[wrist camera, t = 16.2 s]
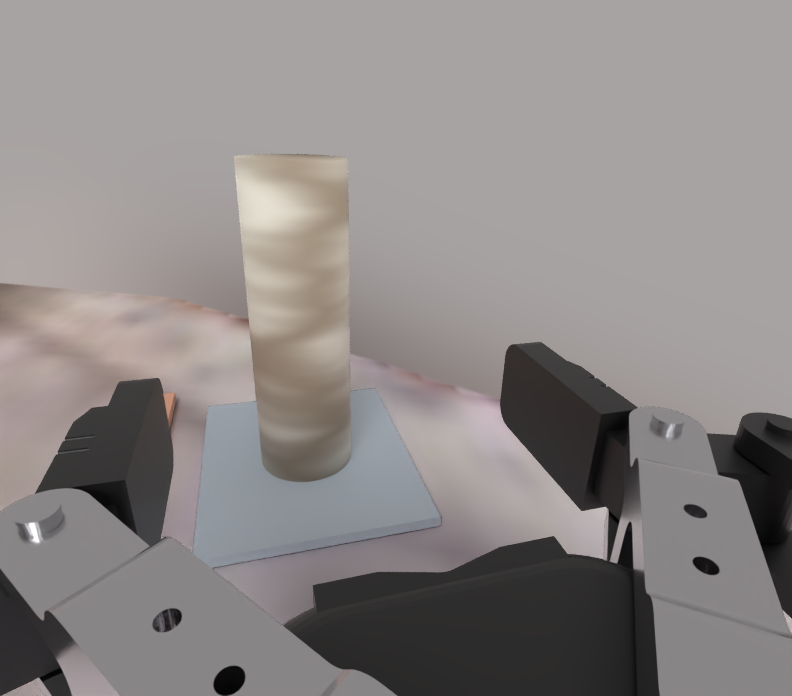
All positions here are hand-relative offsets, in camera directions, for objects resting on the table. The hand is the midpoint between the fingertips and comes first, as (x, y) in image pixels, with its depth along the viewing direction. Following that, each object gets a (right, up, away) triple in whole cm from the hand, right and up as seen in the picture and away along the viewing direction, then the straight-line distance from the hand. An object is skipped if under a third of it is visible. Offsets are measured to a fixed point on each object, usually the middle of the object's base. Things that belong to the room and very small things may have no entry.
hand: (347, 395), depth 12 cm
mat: (-3, -5, +14) cm, 15 cm away
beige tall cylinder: (-3, -4, +14) cm, 15 cm away
